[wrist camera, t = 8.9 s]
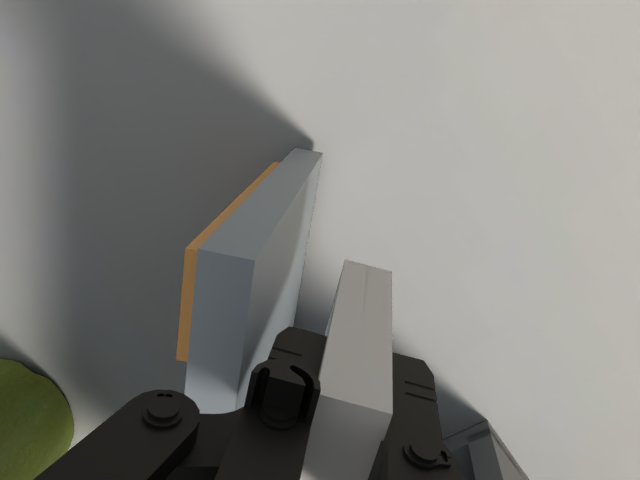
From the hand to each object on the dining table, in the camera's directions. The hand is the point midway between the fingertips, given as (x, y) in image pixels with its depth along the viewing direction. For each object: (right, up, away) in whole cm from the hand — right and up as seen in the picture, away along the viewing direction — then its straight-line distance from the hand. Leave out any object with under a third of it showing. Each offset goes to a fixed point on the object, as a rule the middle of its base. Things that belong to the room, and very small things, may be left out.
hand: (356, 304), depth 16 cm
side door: (-4, -4, +10) cm, 11 cm away
